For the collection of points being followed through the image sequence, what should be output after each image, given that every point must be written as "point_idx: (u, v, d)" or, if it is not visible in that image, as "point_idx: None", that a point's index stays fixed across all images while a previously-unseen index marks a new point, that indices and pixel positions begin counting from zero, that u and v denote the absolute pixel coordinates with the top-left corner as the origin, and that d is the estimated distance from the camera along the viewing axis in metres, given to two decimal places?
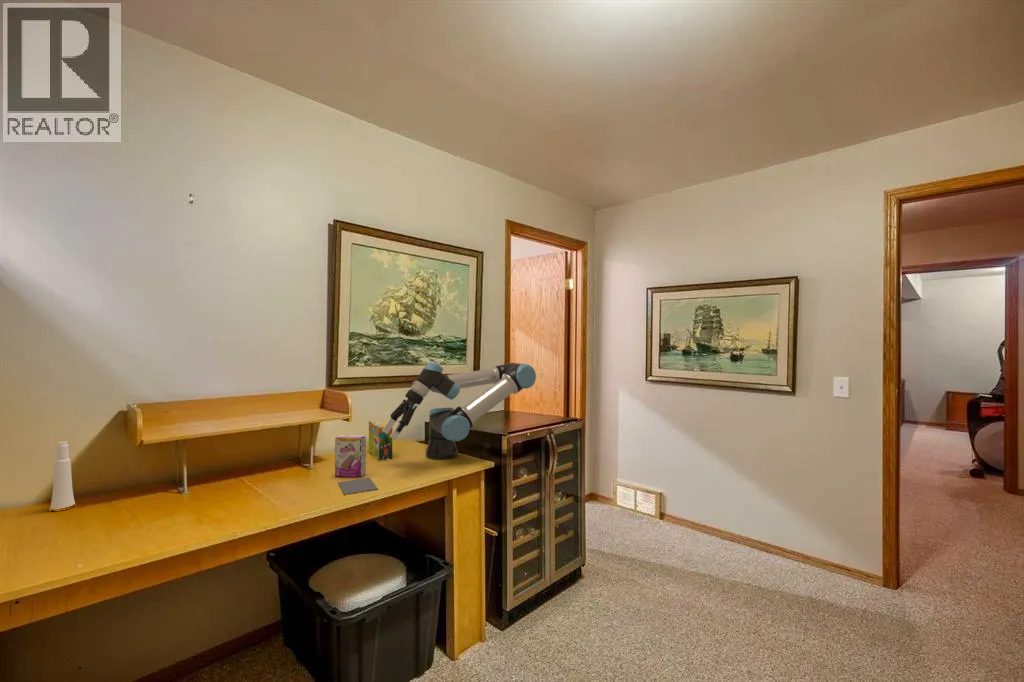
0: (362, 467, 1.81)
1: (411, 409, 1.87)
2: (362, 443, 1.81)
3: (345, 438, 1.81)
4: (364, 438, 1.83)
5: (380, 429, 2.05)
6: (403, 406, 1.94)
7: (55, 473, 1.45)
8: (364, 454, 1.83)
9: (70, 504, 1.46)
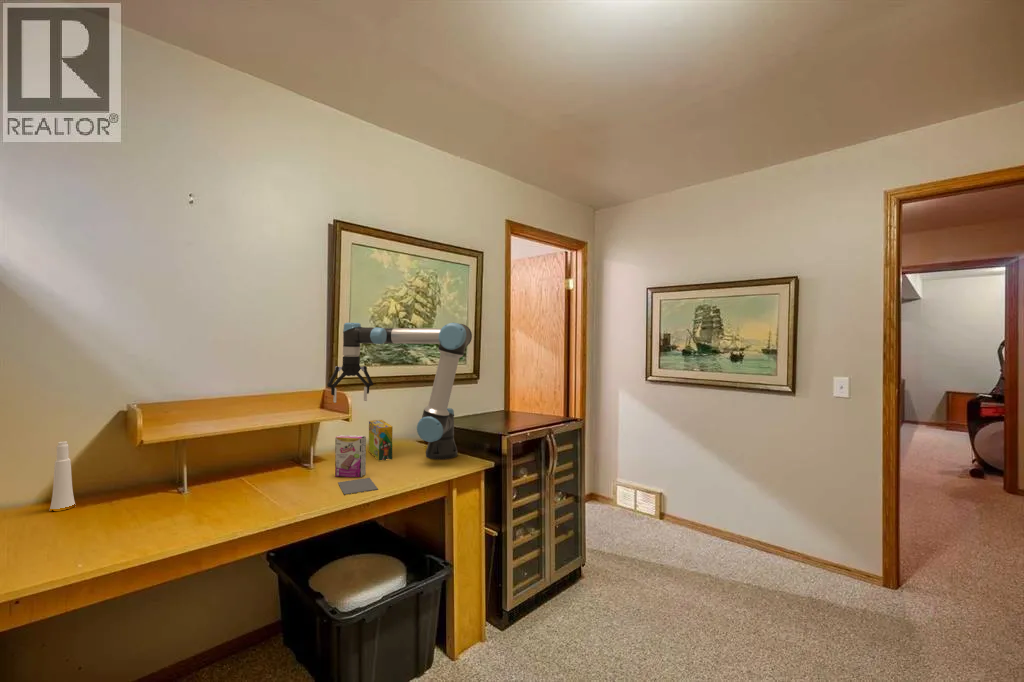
0: (362, 467, 1.81)
1: (334, 372, 2.03)
2: (362, 443, 1.81)
3: (345, 438, 1.81)
4: (364, 438, 1.83)
5: (380, 429, 2.05)
6: None
7: (55, 473, 1.45)
8: (364, 454, 1.83)
9: (70, 504, 1.46)
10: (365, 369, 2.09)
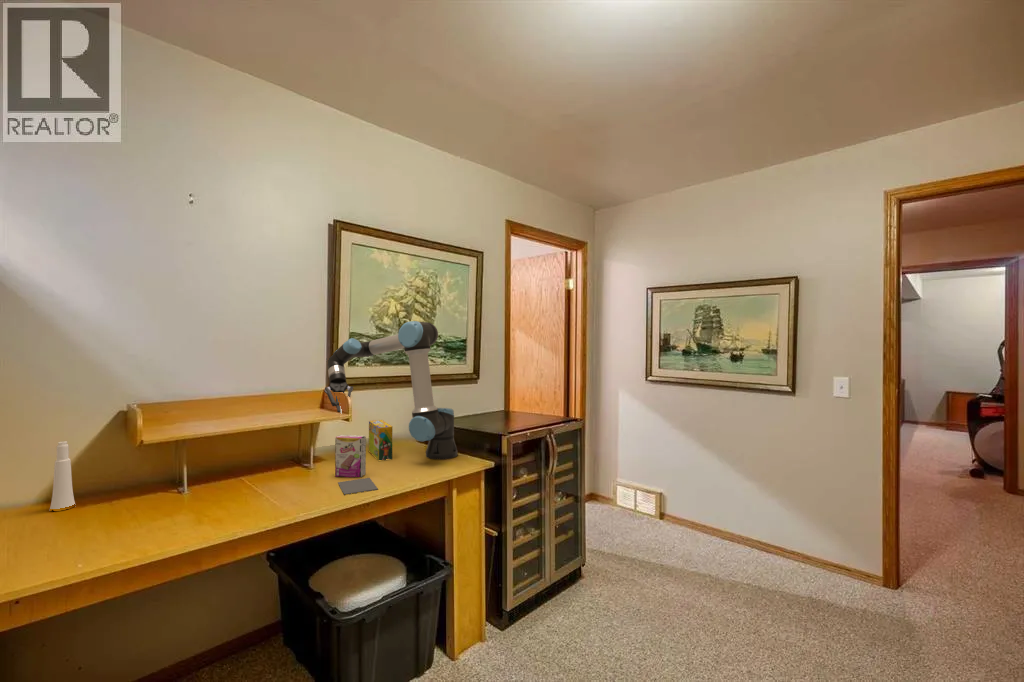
0: (362, 467, 1.81)
1: (327, 393, 2.06)
2: (362, 443, 1.81)
3: (345, 438, 1.81)
4: (364, 438, 1.83)
5: (380, 429, 2.05)
6: None
7: (55, 473, 1.45)
8: (364, 454, 1.83)
9: (70, 504, 1.46)
10: (350, 388, 2.11)
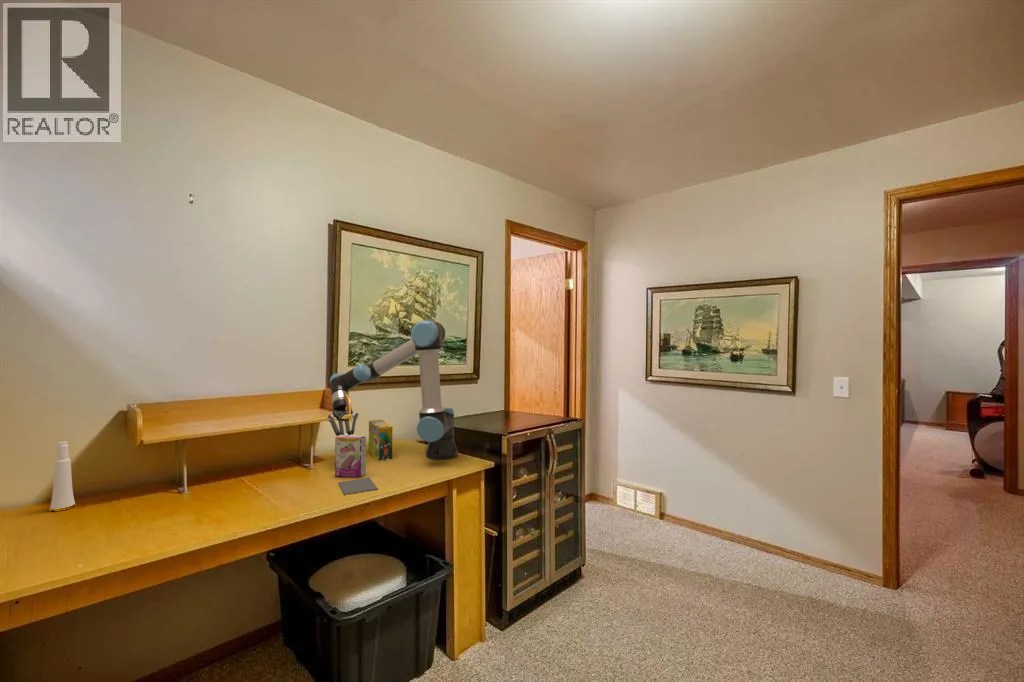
0: (362, 467, 1.81)
1: (330, 422, 1.93)
2: (362, 443, 1.81)
3: (345, 438, 1.81)
4: (364, 438, 1.83)
5: (380, 429, 2.05)
6: None
7: (55, 473, 1.45)
8: (364, 454, 1.83)
9: (70, 504, 1.46)
10: (355, 415, 1.98)
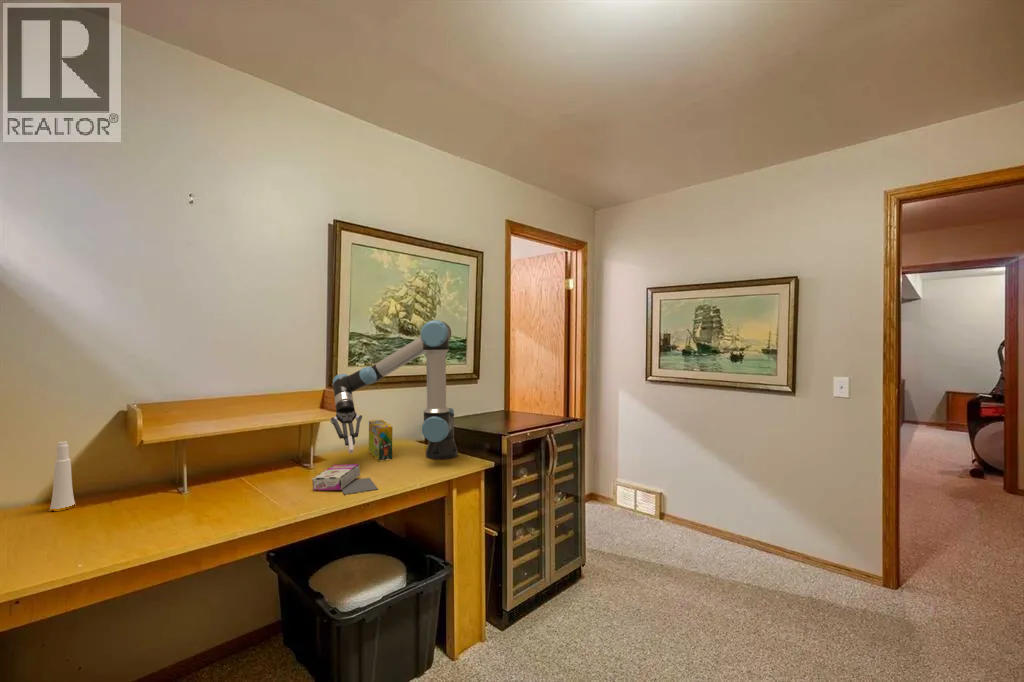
0: (355, 474, 1.76)
1: (334, 424, 1.87)
2: (344, 484, 1.66)
3: (324, 489, 1.65)
4: (341, 480, 1.64)
5: (380, 429, 2.05)
6: None
7: (55, 473, 1.45)
8: (349, 474, 1.71)
9: (70, 504, 1.46)
10: (359, 417, 1.92)
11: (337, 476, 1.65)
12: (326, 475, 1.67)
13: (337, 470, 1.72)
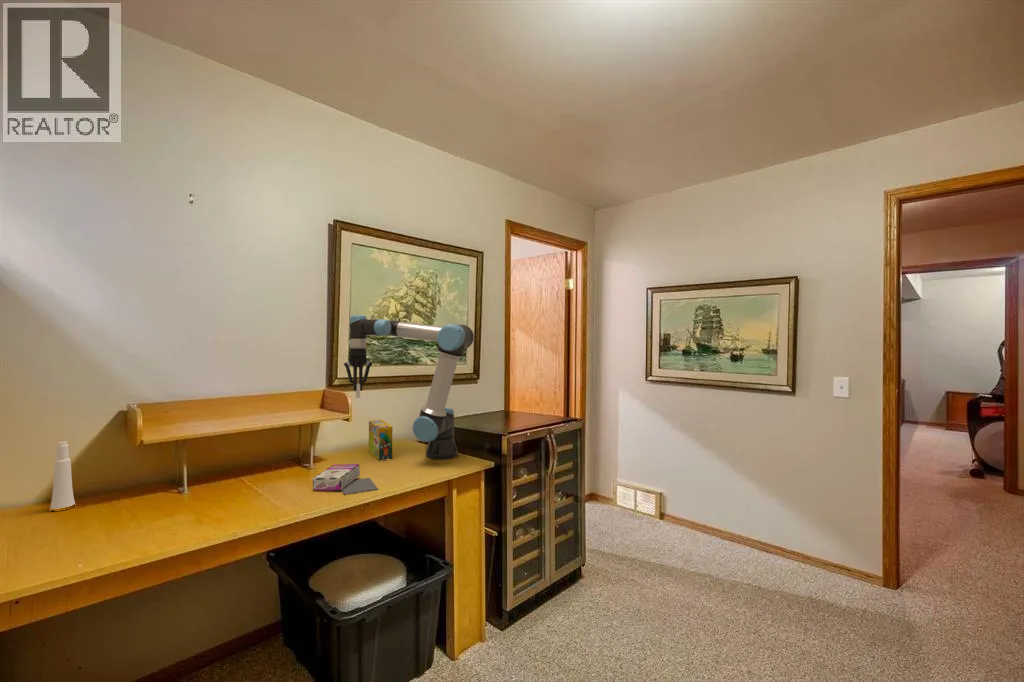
0: (355, 474, 1.76)
1: (346, 368, 2.09)
2: (344, 484, 1.66)
3: None
4: (341, 481, 1.64)
5: (380, 429, 2.05)
6: None
7: (55, 473, 1.45)
8: (350, 474, 1.71)
9: (70, 504, 1.46)
10: (369, 365, 2.12)
11: (337, 476, 1.65)
12: (327, 475, 1.67)
13: (337, 470, 1.72)
